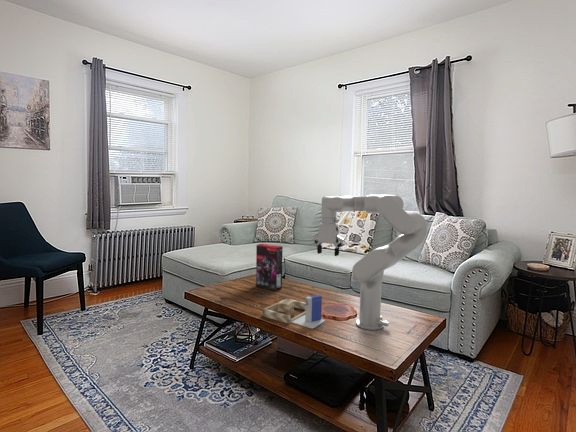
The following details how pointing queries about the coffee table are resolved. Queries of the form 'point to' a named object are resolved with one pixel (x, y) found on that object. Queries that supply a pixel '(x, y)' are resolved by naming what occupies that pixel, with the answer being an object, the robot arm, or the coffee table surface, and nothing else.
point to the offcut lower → (288, 313)
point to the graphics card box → (269, 266)
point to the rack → (271, 313)
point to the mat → (304, 323)
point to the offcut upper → (285, 306)
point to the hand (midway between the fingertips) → (327, 254)
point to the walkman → (313, 308)
